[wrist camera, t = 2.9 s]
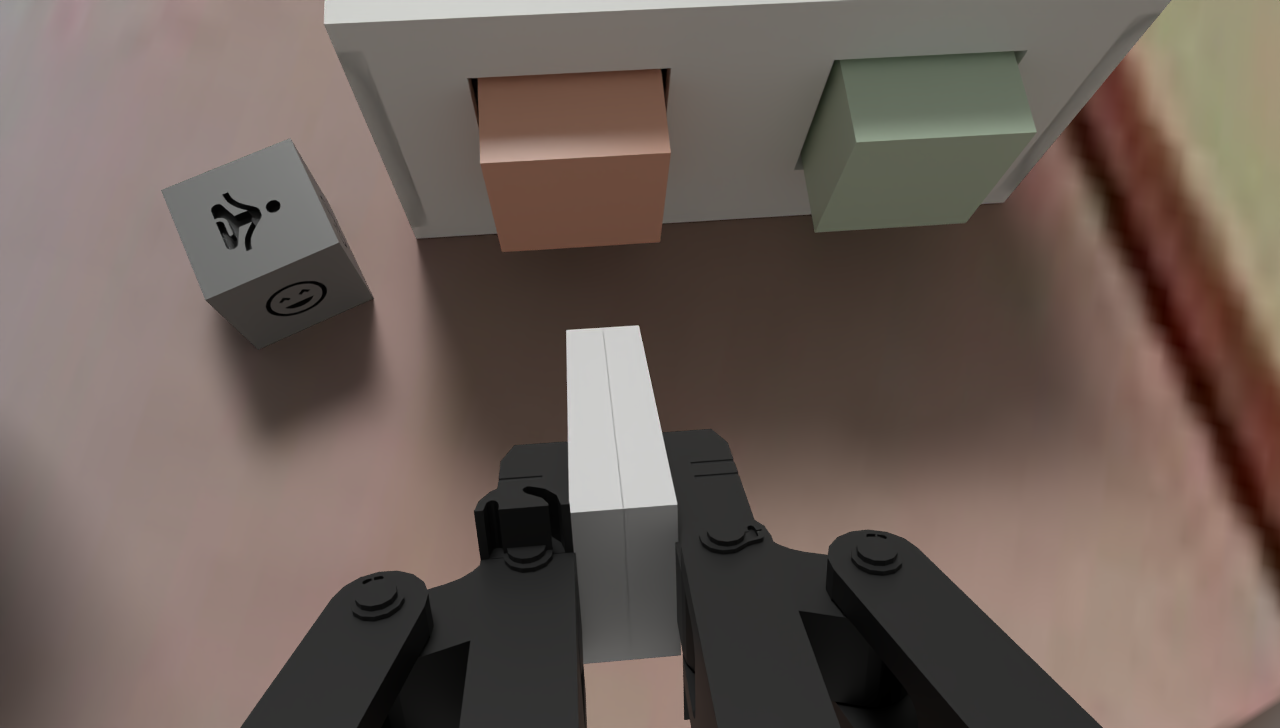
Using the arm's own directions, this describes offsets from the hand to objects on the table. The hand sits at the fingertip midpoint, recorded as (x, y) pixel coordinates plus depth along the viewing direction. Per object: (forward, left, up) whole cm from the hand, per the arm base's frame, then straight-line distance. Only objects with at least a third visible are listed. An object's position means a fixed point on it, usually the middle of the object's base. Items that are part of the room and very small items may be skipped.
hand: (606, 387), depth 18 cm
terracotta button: (0, +13, -12) cm, 18 cm away
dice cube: (-12, +11, -17) cm, 24 cm away
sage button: (+12, +13, -12) cm, 22 cm away
